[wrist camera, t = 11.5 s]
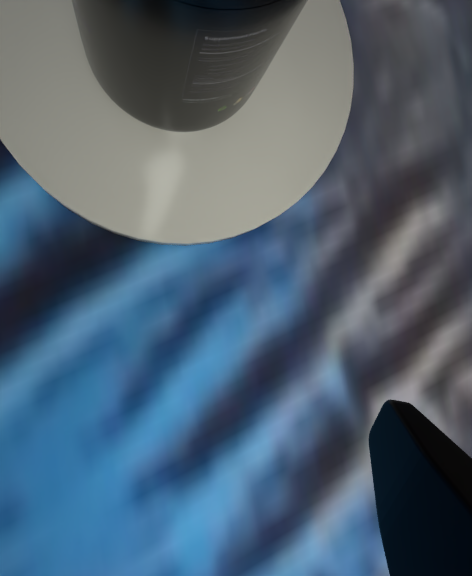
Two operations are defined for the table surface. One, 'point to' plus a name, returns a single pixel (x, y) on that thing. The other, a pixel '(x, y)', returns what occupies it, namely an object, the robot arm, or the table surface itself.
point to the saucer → (167, 144)
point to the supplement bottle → (182, 54)
